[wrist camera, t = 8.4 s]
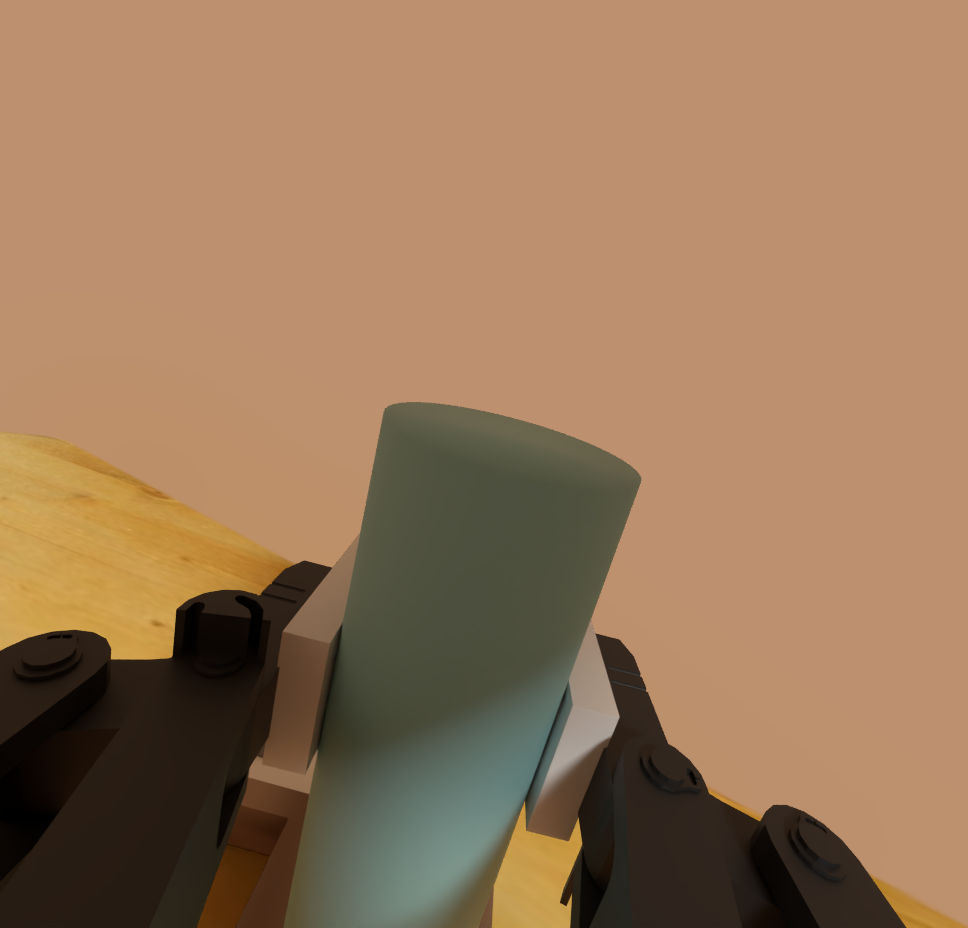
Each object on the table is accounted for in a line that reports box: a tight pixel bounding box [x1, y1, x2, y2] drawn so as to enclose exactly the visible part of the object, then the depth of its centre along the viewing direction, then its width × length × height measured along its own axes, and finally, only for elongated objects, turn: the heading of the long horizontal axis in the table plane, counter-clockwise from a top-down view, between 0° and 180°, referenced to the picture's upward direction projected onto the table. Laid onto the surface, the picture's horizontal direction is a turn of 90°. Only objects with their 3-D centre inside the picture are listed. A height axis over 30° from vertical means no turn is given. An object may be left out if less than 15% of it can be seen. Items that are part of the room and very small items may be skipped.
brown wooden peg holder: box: [227, 777, 494, 928], centre depth 17 cm, size 16×8×2 cm, turn 84°
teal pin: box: [283, 402, 641, 928], centre depth 9 cm, size 4×4×12 cm
